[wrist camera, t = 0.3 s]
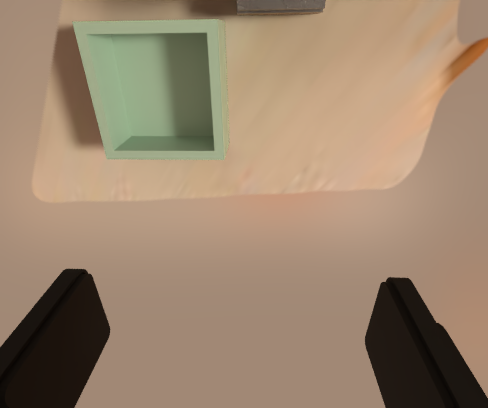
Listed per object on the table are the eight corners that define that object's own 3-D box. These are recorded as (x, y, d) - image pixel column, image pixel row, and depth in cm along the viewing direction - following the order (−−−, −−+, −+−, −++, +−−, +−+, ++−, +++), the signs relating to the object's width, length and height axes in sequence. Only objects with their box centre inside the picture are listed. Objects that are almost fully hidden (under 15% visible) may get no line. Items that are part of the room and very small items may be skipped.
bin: (102, 23, 32) (72, 21, 27) (224, 20, 32) (217, 19, 26) (127, 141, 39) (106, 159, 34) (229, 142, 38) (224, 159, 33)
